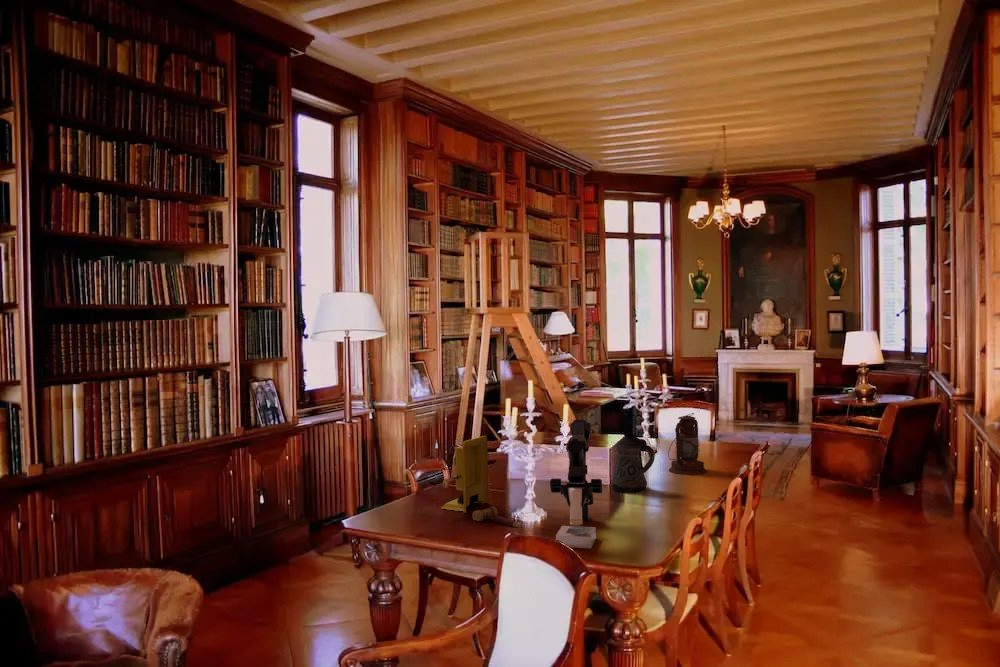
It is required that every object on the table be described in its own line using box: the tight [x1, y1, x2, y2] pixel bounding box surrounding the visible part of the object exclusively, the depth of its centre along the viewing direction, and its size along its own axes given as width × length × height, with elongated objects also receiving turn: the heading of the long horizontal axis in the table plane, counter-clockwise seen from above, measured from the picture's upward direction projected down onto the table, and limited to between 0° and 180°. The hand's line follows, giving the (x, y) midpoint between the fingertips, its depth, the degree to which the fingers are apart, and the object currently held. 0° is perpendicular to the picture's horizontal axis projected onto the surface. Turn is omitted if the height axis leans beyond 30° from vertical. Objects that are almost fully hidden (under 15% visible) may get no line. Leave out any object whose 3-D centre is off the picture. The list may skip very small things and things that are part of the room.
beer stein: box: [610, 434, 656, 494], centre depth 361 cm, size 16×19×25 cm
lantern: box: [667, 412, 708, 476], centre depth 397 cm, size 19×19×30 cm
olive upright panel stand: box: [440, 435, 494, 514], centre depth 336 cm, size 31×14×30 cm, turn 149°
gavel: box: [471, 506, 519, 528], centre depth 309 cm, size 21×5×10 cm
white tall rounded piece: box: [568, 487, 584, 526], centre depth 280 cm, size 4×4×12 cm
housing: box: [555, 525, 597, 549], centre depth 280 cm, size 12×12×4 cm
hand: (575, 506), depth 279 cm, fingers closed on white tall rounded piece, 4 cm apart
